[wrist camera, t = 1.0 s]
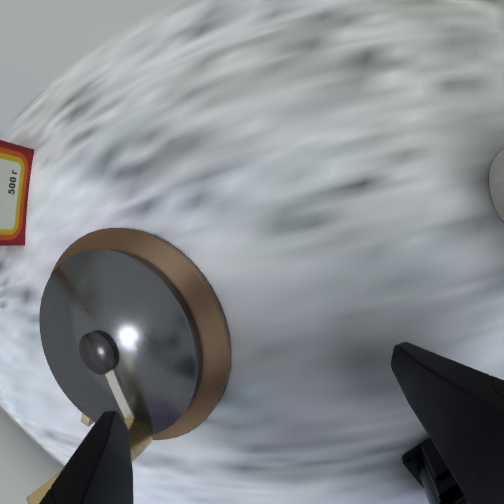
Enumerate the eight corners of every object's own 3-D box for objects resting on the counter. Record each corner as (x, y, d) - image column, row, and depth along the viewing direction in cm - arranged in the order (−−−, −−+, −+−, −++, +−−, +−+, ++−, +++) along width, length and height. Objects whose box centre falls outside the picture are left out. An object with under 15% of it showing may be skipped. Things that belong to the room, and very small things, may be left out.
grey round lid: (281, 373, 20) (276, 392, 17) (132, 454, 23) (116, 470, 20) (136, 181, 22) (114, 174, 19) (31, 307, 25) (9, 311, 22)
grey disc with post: (35, 279, 22) (-85, 294, 10) (162, 220, 20) (-1, 197, 8) (94, 435, 22) (3, 503, 10) (236, 426, 19) (162, 564, 7)
